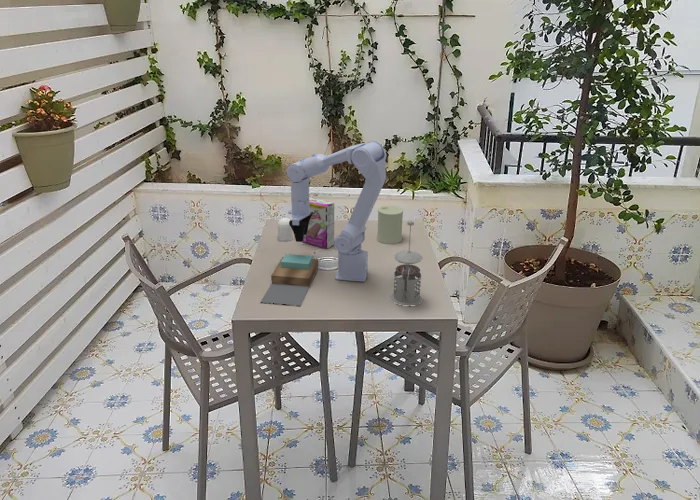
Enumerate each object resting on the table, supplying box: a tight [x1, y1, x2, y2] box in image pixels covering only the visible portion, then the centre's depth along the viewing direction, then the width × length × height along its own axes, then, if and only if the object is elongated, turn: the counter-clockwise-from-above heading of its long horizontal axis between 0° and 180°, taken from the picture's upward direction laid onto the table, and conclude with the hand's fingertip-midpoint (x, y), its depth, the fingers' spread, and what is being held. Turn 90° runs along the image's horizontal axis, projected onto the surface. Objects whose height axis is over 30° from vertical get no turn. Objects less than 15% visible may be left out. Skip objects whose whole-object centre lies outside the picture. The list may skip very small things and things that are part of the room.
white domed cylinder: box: [277, 217, 294, 242], centre depth 209 cm, size 5×5×8 cm
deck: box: [270, 256, 320, 288], centre depth 182 cm, size 12×14×3 cm
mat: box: [260, 282, 310, 307], centre depth 171 cm, size 12×12×1 cm
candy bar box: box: [302, 196, 335, 249], centre depth 203 cm, size 11×5×16 cm, turn 58°
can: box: [376, 205, 404, 245], centre depth 208 cm, size 9×9×12 cm
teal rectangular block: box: [280, 253, 314, 270], centre depth 183 cm, size 9×6×2 cm, turn 81°
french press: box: [390, 219, 424, 306], centre depth 164 cm, size 10×12×25 cm
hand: (301, 237), depth 187 cm, fingers open, 5 cm apart
